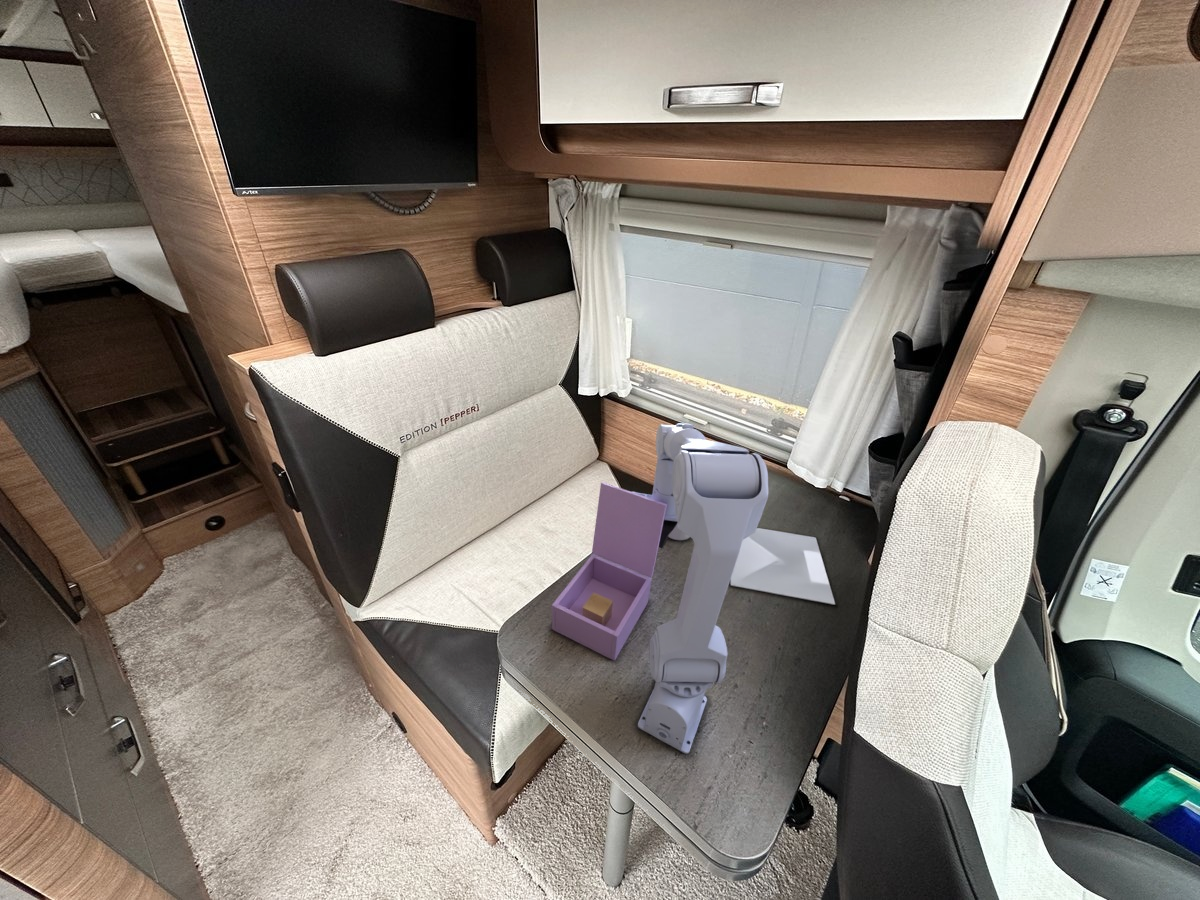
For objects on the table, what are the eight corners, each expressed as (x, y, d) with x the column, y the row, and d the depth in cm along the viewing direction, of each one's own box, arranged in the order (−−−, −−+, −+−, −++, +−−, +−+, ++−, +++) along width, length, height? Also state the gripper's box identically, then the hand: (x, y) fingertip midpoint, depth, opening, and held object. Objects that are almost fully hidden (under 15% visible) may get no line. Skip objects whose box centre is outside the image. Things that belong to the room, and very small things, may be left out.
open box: (614, 661, 79) (617, 636, 75) (551, 629, 83) (551, 605, 80) (648, 601, 90) (651, 578, 87) (591, 576, 95) (592, 553, 91)
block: (601, 632, 82) (602, 616, 80) (581, 622, 84) (582, 607, 82) (611, 616, 85) (613, 601, 83) (592, 607, 87) (593, 592, 85)
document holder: (730, 585, 94) (834, 604, 91) (731, 584, 94) (835, 604, 91) (727, 523, 111) (815, 538, 108) (727, 522, 111) (815, 537, 108)
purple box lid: (665, 505, 80) (667, 504, 80) (600, 483, 85) (602, 481, 85) (651, 577, 86) (652, 575, 87) (591, 553, 91) (593, 551, 91)
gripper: (715, 488, 84) (703, 545, 90) (641, 464, 89) (635, 520, 96) (703, 509, 78) (691, 568, 85) (625, 482, 84) (620, 540, 91)
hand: (660, 544), depth 90 cm, fingers closed
